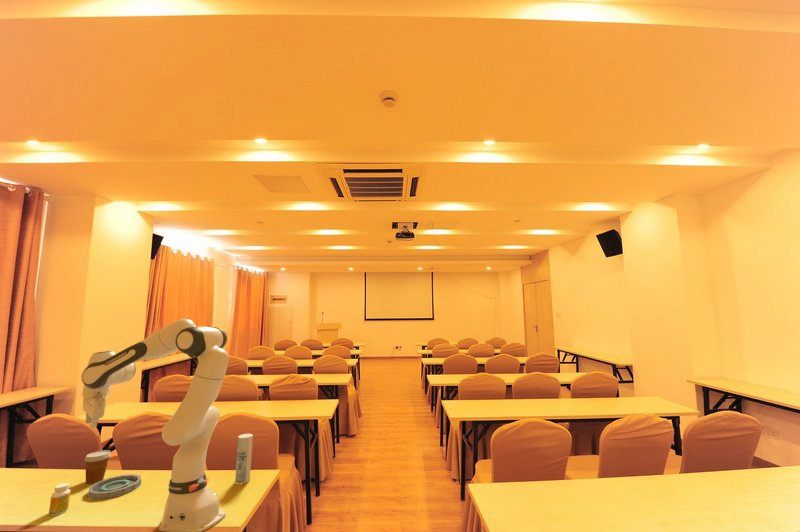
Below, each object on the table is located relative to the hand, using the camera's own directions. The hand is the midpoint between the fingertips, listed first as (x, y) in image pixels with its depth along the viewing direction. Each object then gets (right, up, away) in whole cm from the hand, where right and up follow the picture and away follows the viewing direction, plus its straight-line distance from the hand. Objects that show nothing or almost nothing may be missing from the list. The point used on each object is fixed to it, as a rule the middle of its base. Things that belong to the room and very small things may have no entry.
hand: (90, 425), depth 140 cm
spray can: (+55, -35, +18) cm, 67 cm away
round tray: (+1, -34, +11) cm, 35 cm away
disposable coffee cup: (-15, -35, +19) cm, 43 cm away
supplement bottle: (-6, -31, -8) cm, 32 cm away
